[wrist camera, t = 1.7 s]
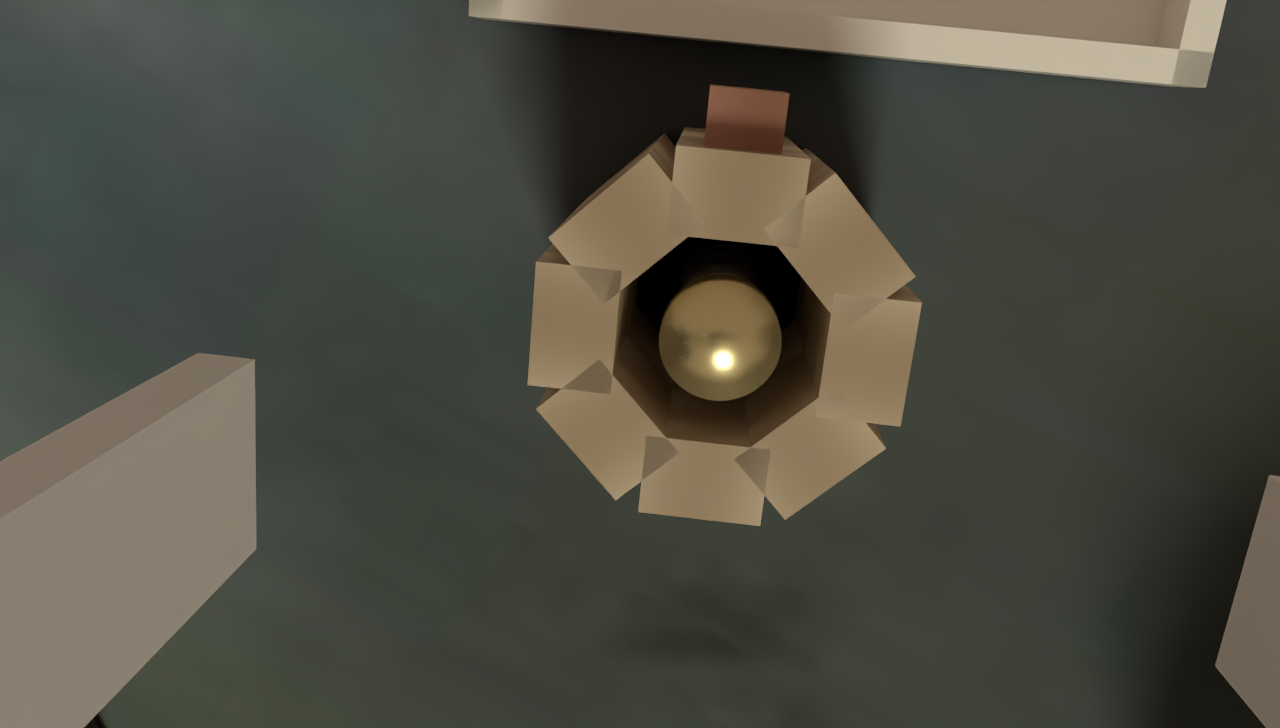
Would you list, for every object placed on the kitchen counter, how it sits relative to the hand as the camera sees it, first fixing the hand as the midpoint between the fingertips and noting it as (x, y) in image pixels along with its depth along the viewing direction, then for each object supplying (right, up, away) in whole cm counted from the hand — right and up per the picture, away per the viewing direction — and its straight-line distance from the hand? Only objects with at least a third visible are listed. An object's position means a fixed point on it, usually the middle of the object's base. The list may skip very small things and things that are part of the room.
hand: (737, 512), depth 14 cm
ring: (+1, +4, +15) cm, 16 cm away
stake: (+1, +4, +15) cm, 16 cm away
